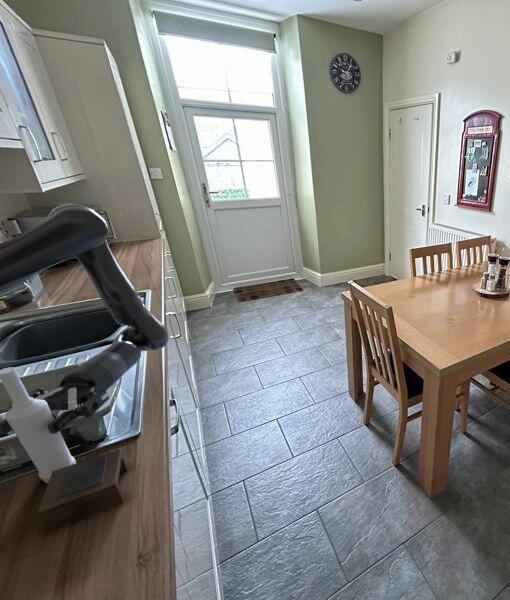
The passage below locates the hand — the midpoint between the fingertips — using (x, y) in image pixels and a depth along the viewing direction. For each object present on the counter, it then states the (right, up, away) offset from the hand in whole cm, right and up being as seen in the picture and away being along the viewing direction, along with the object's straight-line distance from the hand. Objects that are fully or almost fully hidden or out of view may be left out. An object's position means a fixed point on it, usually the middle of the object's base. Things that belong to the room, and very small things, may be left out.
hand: (25, 430), depth 59 cm
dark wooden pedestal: (+10, -14, +3) cm, 17 cm away
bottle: (-1, -11, +7) cm, 13 cm away
